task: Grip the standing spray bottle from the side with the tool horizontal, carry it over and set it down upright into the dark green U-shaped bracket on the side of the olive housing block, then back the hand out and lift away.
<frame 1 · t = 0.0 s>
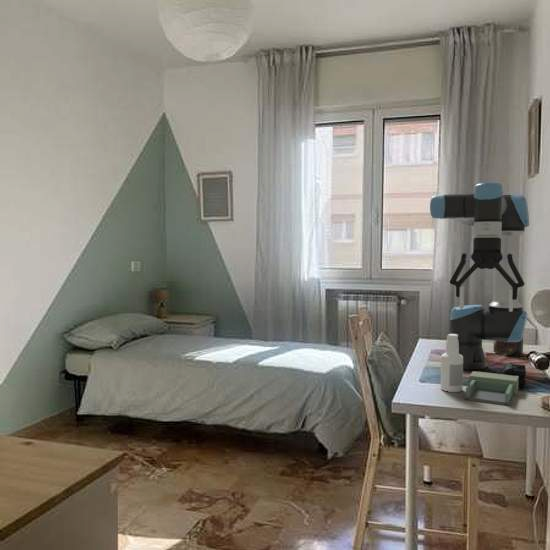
hand: (485, 309, 160), 28 cm above the table, tool pointing down, fingers open, 13 cm apart
end cap: (513, 385, 183), on the table
spray bottle: (451, 390, 177), on the table
chute bracket: (489, 397, 169), on the table
jar: (508, 353, 234), on the table
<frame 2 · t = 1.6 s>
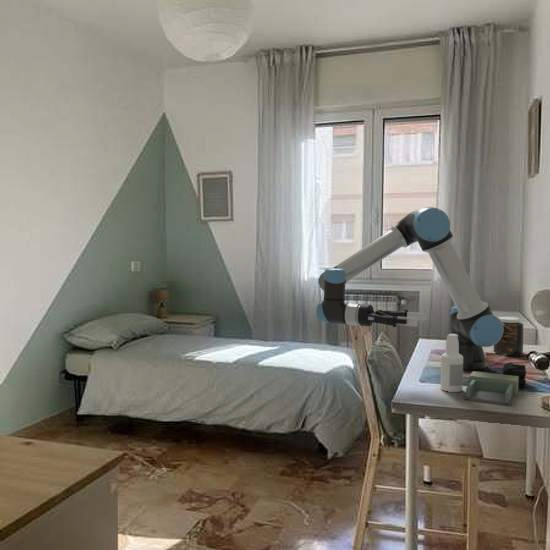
hand: (422, 319, 180), 22 cm above the table, tool horizontal, fingers open, 13 cm apart
nothing on the table moved.
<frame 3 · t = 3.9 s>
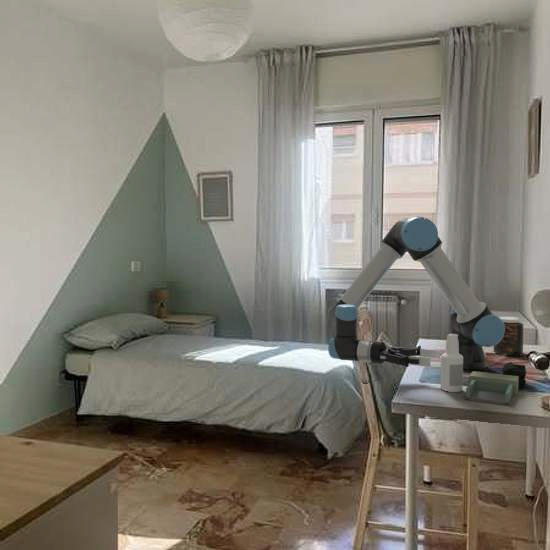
hand: (435, 358, 178), 10 cm above the table, tool horizontal, fingers open, 13 cm apart
nothing on the table moved.
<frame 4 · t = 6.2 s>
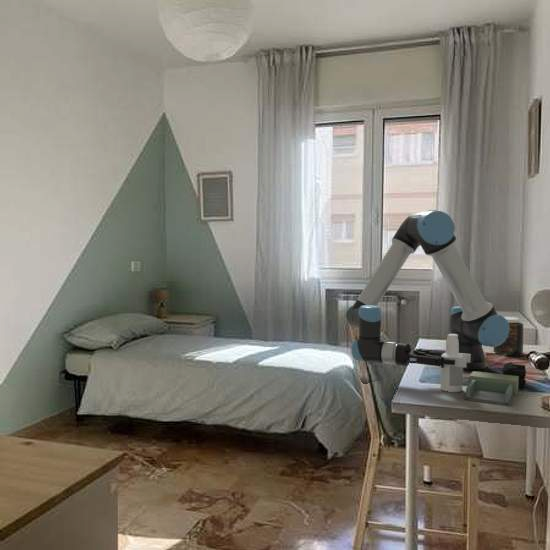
hand: (468, 360, 174), 10 cm above the table, tool horizontal, fingers closed on spray bottle, 7 cm apart
spray bottle: (451, 390, 177), on the table, touching gripper
everything else where it was.
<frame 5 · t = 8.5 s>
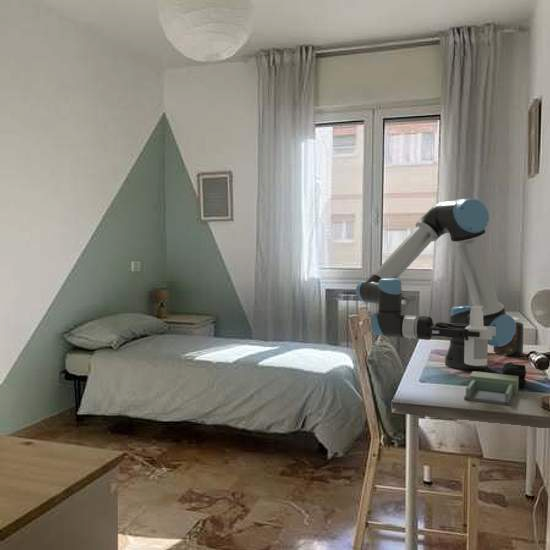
hand: (493, 333, 167), 20 cm above the table, tool horizontal, fingers closed on spray bottle, 7 cm apart
spray bottle: (475, 364, 170), point 10 cm above the table, touching gripper
everything else where it was.
when the fingers open (12 cm above the table, at t = 11.2 s): spray bottle drops 1 cm, resting on chute bracket.
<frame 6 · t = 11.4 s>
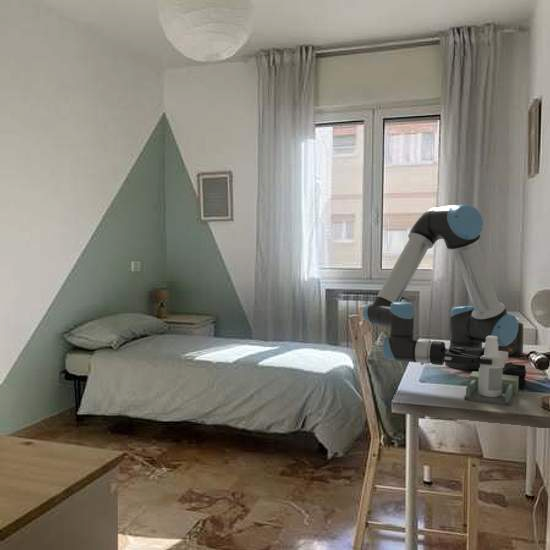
hand: (506, 359, 166), 12 cm above the table, tool horizontal, fingers open, 9 cm apart
spray bottle: (489, 394, 169), point 1 cm above the table, touching chute bracket
everything else where it was.
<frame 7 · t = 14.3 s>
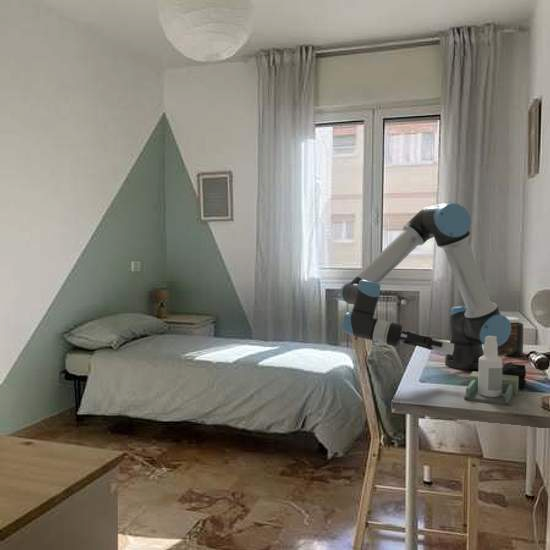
hand: (453, 349, 176), 13 cm above the table, tool horizontal, fingers open, 13 cm apart
nothing on the table moved.
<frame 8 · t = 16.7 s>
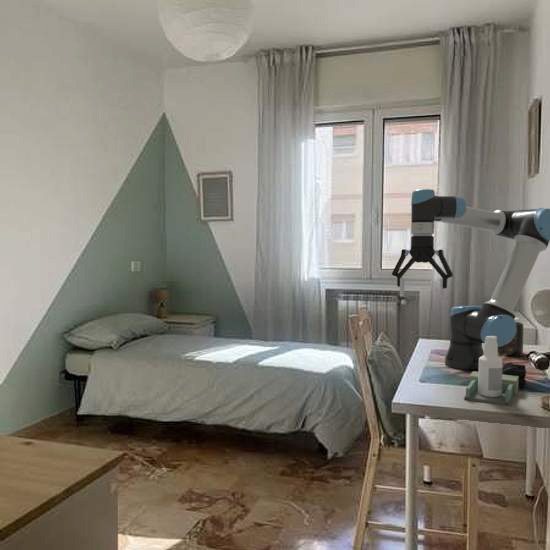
hand: (421, 297, 188), 29 cm above the table, tool pointing down, fingers open, 13 cm apart
nothing on the table moved.
at the end: spray bottle 0.1 cm off-centre on the chute bracket, point 0.6 cm above the chute bracket's base; spray bottle tilted 0°; the gripper is holding nothing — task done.
